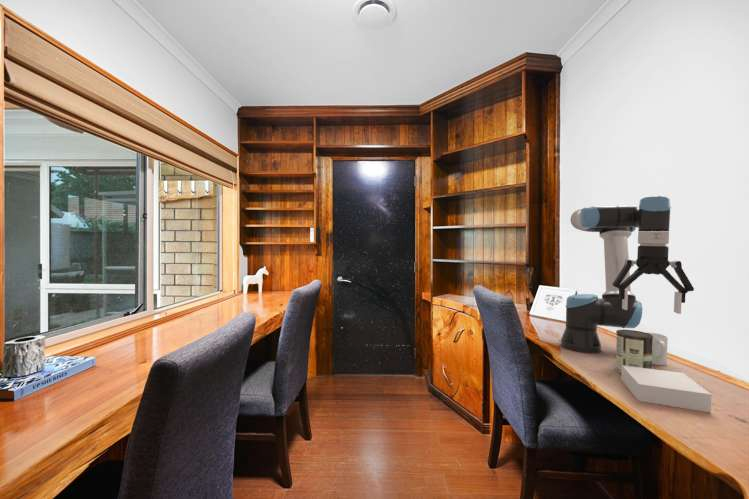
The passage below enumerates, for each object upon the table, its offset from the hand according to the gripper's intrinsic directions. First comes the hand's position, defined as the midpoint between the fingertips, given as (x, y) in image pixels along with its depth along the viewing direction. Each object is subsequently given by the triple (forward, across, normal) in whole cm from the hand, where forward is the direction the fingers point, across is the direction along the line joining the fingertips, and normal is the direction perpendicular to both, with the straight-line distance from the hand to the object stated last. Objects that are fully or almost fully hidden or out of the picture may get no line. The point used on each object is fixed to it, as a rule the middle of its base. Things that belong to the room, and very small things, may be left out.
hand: (650, 311), depth 105 cm
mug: (+25, +10, +25) cm, 37 cm away
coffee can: (+25, -1, +11) cm, 27 cm away
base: (+24, +1, -7) cm, 25 cm away
